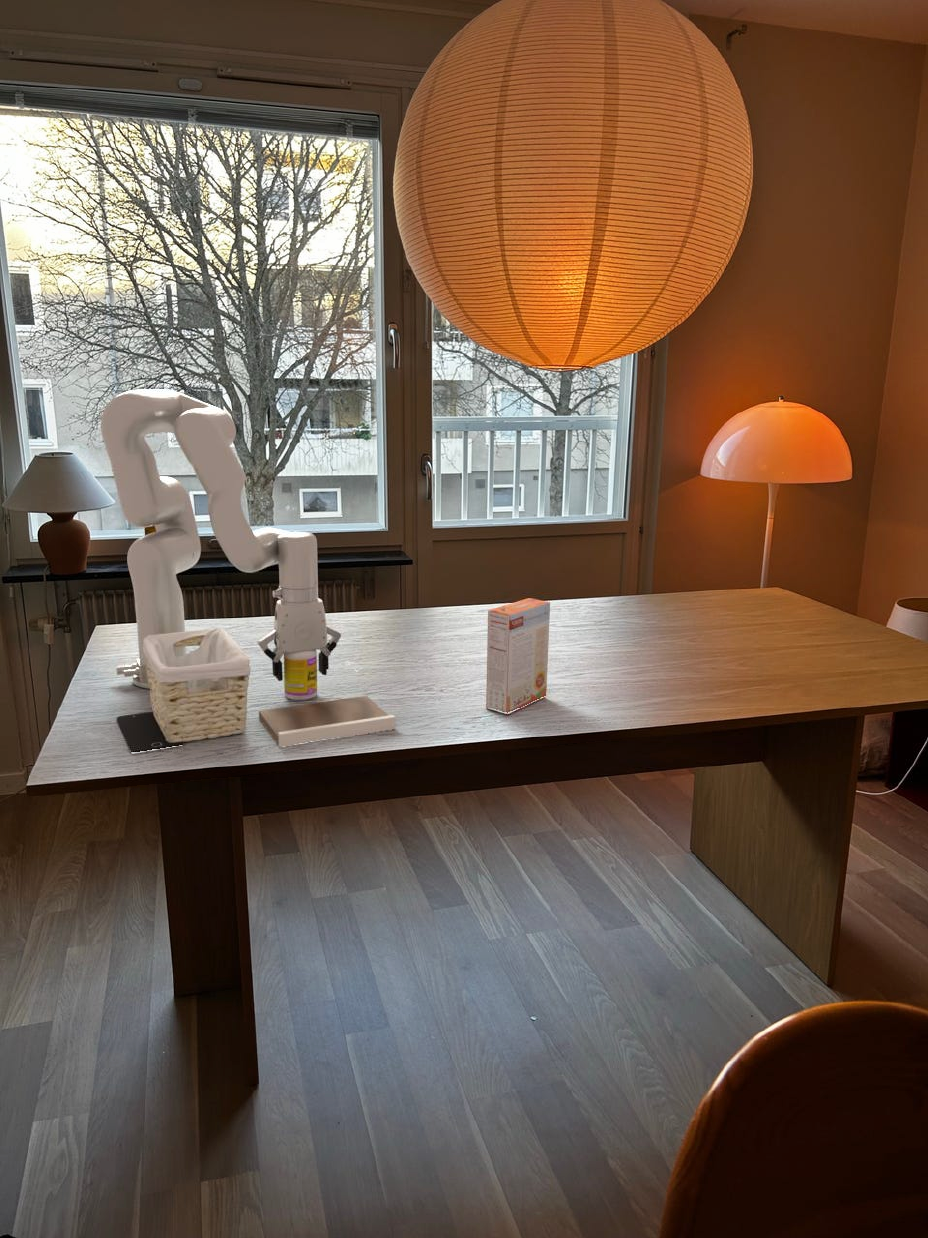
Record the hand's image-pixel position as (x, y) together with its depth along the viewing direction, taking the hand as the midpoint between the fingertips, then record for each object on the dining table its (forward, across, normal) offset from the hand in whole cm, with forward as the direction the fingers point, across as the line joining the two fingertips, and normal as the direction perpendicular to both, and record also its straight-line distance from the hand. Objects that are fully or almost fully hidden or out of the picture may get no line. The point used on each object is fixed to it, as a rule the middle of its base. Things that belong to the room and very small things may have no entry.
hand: (301, 675), depth 183 cm
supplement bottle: (+5, 0, 0) cm, 5 cm away
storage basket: (+5, -22, -5) cm, 23 cm away
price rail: (+4, 0, -24) cm, 24 cm away
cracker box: (+5, +39, -21) cm, 44 cm away
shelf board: (+4, 0, -16) cm, 16 cm away
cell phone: (+5, -31, -8) cm, 32 cm away
